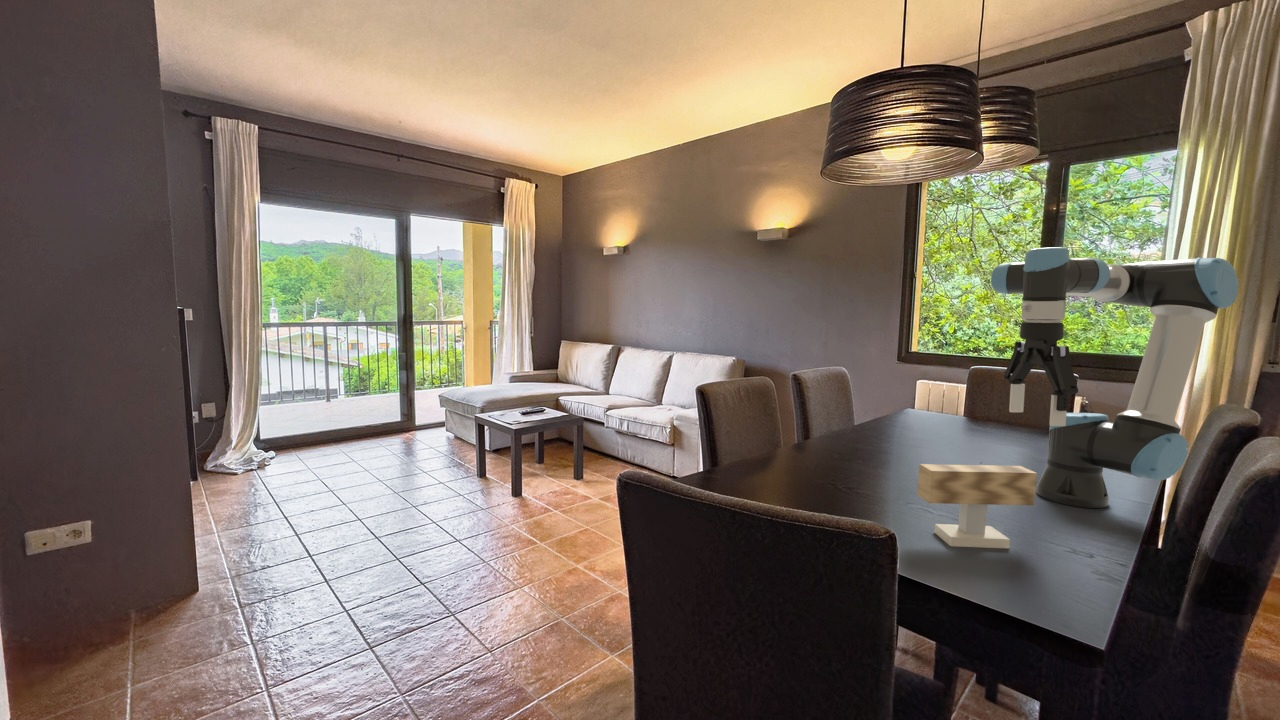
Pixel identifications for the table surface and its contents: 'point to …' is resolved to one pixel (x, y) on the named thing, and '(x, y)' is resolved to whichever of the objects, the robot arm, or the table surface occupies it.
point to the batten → (976, 484)
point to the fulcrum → (972, 529)
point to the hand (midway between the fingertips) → (1035, 418)
